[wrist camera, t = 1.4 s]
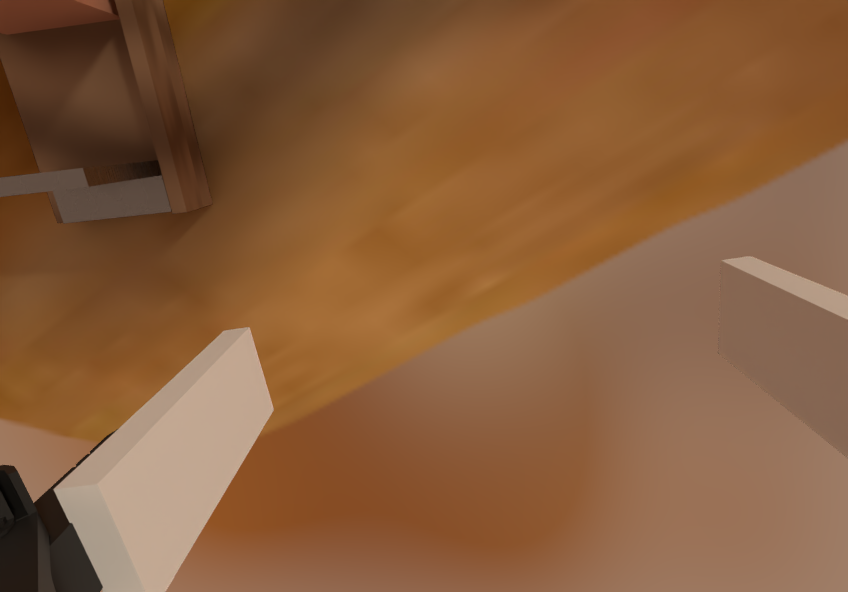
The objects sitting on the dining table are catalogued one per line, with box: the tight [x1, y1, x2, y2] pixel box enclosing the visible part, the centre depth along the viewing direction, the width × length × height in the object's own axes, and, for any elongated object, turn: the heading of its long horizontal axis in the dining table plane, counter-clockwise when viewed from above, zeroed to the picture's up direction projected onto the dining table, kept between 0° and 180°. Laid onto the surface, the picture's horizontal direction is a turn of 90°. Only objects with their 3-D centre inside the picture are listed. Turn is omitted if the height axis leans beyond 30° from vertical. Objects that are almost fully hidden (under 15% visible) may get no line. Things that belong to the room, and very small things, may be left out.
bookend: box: [0, 160, 172, 223], centre depth 31 cm, size 4×8×8 cm, turn 96°
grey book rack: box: [0, 0, 213, 223], centre depth 27 cm, size 25×11×13 cm, turn 6°
